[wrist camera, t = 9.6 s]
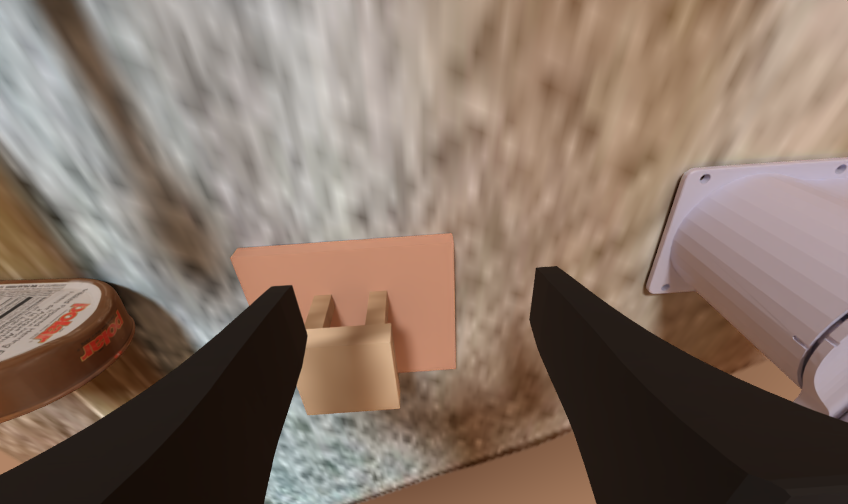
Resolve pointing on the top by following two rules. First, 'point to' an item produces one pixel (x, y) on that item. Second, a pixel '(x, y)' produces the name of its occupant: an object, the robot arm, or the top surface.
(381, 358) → the toy stool
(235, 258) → the mat
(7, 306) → the tin
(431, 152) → the top surface
